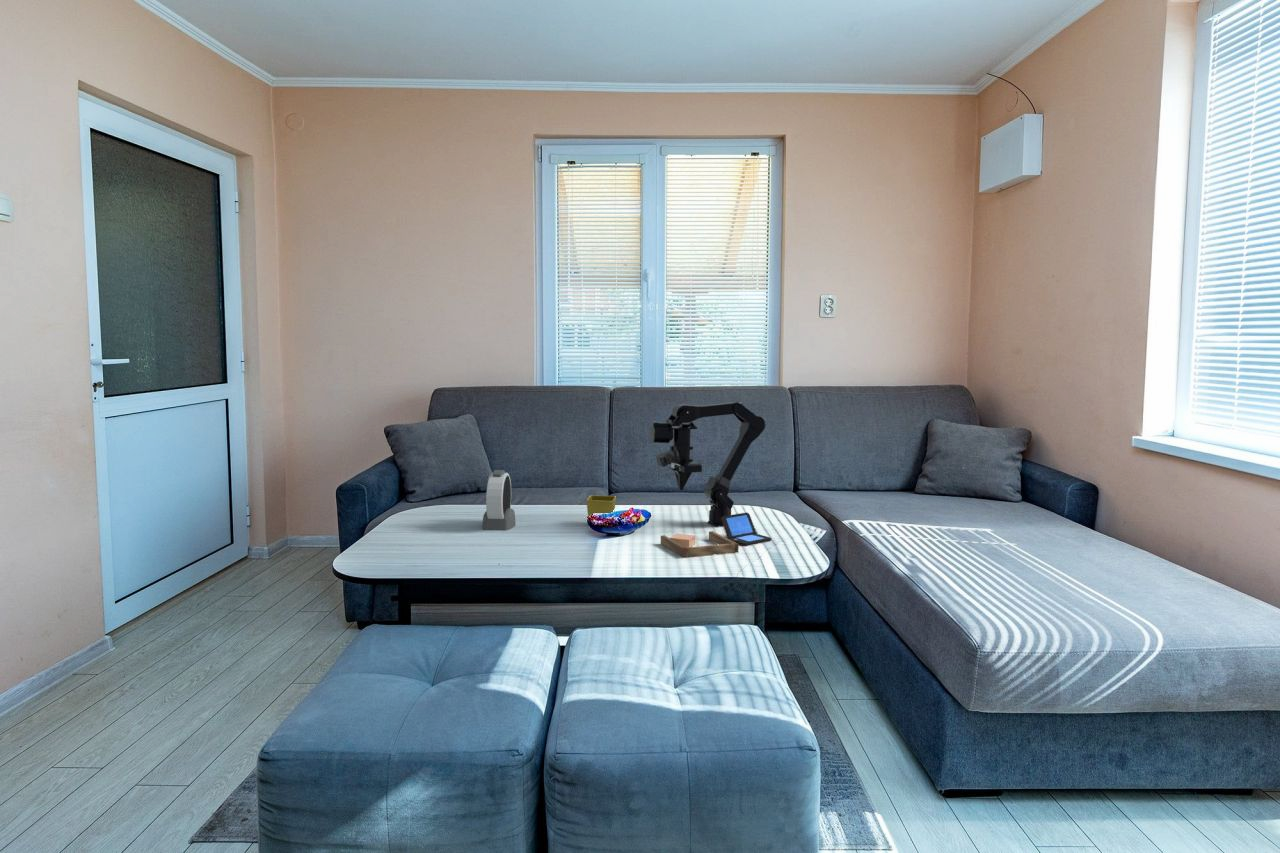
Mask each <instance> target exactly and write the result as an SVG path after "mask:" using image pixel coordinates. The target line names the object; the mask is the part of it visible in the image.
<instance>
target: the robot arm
mask: <svg viewBox="0 0 1280 853" xmlns="http://www.w3.org/2000/svg"><path fill="white" fill-rule="evenodd" d="M729 415H734V417H735V418H736V419H737V421H739V422H740V423H741V424H740V427H739V432H738V438H737V440H736V441H735V443H734V445H733V447H732V448H731V450H730V452H729V454H728V456H727V458H726V460H725V462H724V463H723V465H722V467H721V468H720V470H719V472H718V474H716V476H712V475H710V476H709V477H708V480H707V482H706V484H704V487H705V488H704V495H705V497H706V498H707V499H708V501H709V503H710V510H709V511H708V513H709V514H708V521H707V523H708V524H711V525H713V526H715V527H724V526H723V523H722V521H721V518H722V516H728V515H732V508H733V506H734V504H735V503H734V501H733V500H732V498H730V497H729V493H730V489H731V482H732V479H733V478H734V475H735V474H736V471H737V469H738V468H739V466H740V465H741V462H742V460H743V459H744V457H745V455H746V453H747V452H748V450H749V448H750V446H751V445H752V443H753V442H754V441H755V440H757V439H758V438H759V437H760V435H761V434H762V433H763V432H764V431H765V429H766V427H767V426H766V425H767V424H766V421H765V420H764V418H763V417H761V416H759V415H756V414H755V413H753V412H752V411H751V410H750V409H748V408H747V407H746V406H744V405H743V403H742V402H739V401H731V402H722V403H712V404H703V405H697V404H696V405H695V404H685V403H678V404H676V405H674V406H673V408H672V410H671V413H670V415H669V417H668V418H667V419H666V421H665V422H658V421H657V422H656V421H652V422H651V427H650V431H649V440H650V443H651V444H669V443H671V441H673V442H672V445H670V446H669V450H666V451H664V452H661V453H660V454H657V455H655V458H656V462H657V465H658V466H661V467H662V468H663V467H664V468H665V467H667V466H668V465H670V466H671V467H668V468H669V470H671V472H672V473H673V474H674V476H675V481H676V485H677V488H678V490H679V491H683V490H684V488H685V486H686V484H687V482H688V481H689V479H690V477H691V475H692V474H693V473H702V472H703V466H702V464H701V463H700V462H696V461H693V458H691V450H694V446H692V444H691V443H692V442H691V439H692V435H691V434H692V430H697V429H698V427H697V426H696V424H694V421H697V420H699V419H702V418H709V417H718V416H729Z"/></svg>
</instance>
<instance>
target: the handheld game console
mask: <svg viewBox="0 0 1280 853" xmlns="http://www.w3.org/2000/svg"><path fill="white" fill-rule="evenodd" d="M721 521H722V523H723V526H722V527H723V529H724V531H725V534H726V538H727V539H729V540H732V541H734V542H736V543H738V544H739V546H742V547H748V545H749V546H753V544H754V545H759V544H762V543H763V542H764V543H768V542H771V541H772V537H769V536H766V535H763V534H759V533H758V532H757V530H756V528H755V525H754V522H753V520H752V517H751V515H750V513H749V512H741V513H735V514H731V515H728V516H722V518H721ZM758 543H759V544H758Z"/></svg>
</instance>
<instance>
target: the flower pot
mask: <svg viewBox="0 0 1280 853" xmlns="http://www.w3.org/2000/svg"><path fill="white" fill-rule="evenodd" d="M616 503H617V496H616V495H615V496H614V495H601V494H600V495H599V494H597V495H596V494H590V495H589V497H587V499H586V510H587V517H588V518H589V516H590V515H591V514H593V513H611V512H613V510H614V509H616ZM614 511H615V510H614Z"/></svg>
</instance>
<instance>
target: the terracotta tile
mask: <svg viewBox="0 0 1280 853" xmlns="http://www.w3.org/2000/svg"><path fill="white" fill-rule="evenodd" d="M669 538H670V539H672V540H674V541H675V542H677V543H679V544H681V545H683V546H684V547H686V548H687V547H695V545H696V534H695V535H693V534H685V533H675V534H673V535H672V536H670V537H669Z"/></svg>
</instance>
